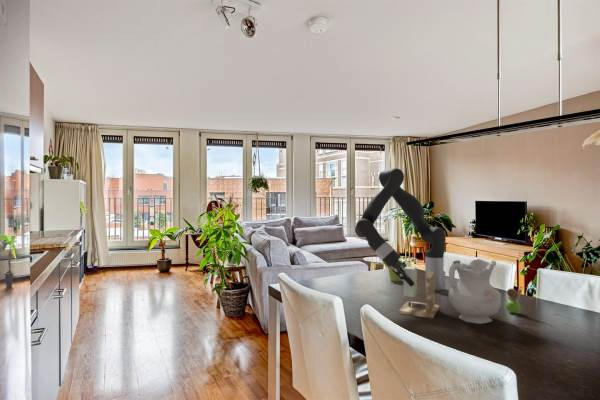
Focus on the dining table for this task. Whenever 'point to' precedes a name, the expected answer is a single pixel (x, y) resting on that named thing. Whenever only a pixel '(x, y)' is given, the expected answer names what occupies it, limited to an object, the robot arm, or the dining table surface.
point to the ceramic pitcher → (474, 291)
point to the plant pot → (393, 275)
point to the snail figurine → (513, 300)
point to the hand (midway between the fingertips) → (414, 283)
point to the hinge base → (423, 308)
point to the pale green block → (412, 274)
